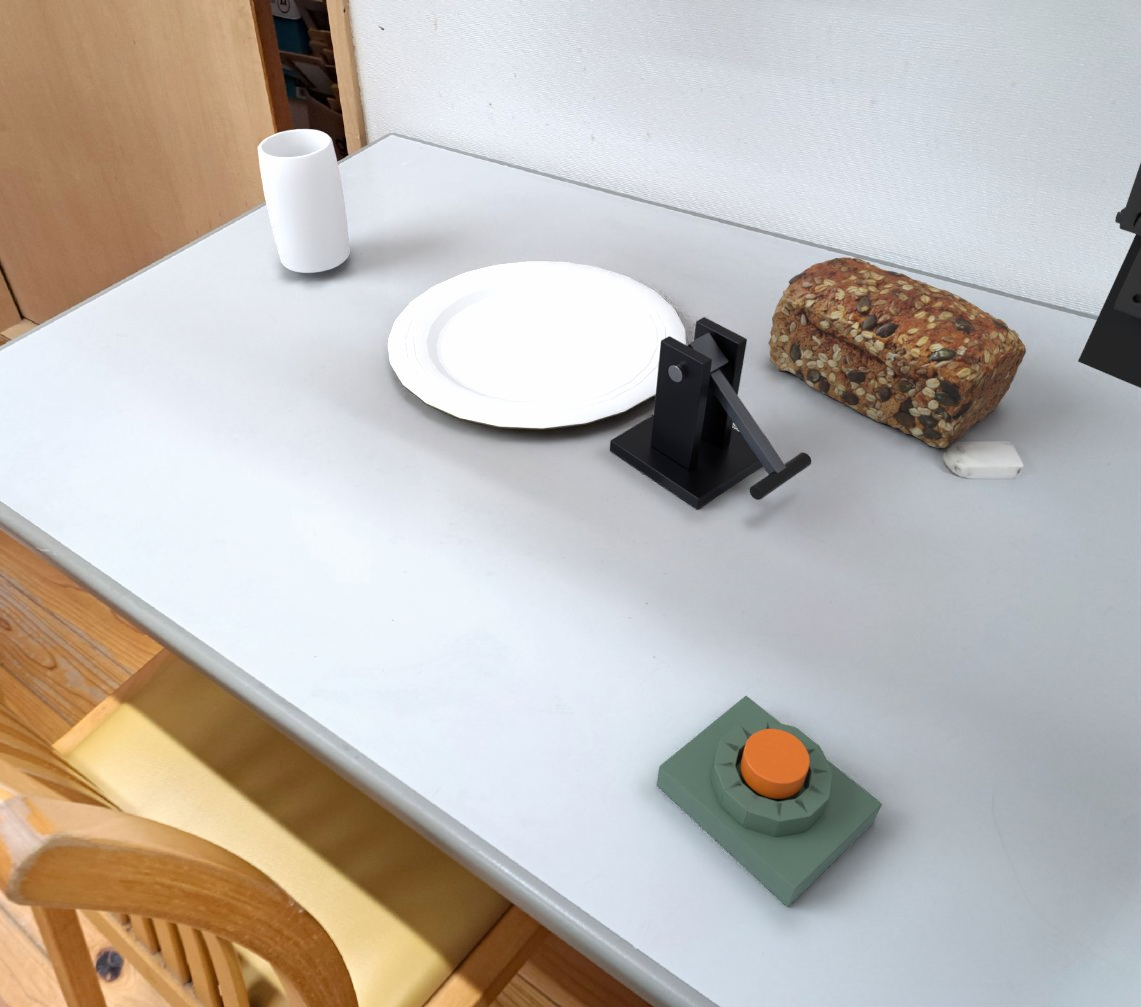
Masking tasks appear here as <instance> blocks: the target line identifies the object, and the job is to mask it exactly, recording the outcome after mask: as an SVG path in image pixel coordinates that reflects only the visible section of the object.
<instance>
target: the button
mask: <svg viewBox="0 0 1141 1007" xmlns="http://www.w3.org/2000/svg"><path fill="white" fill-rule="evenodd" d="M809 765H810V758H809V754H808V752H807V750H806V748H805V746H804V745H803V743H802V742H801V741H800V740H799V739H797V738H796V737H795V736H793V735H792V734H790V733H788V732H785V731H782V730H778V729H764V730H760V731H758V732H756V733H754V734H753V735H752V736H751V737H750V738H749V739H748V740H747V742H746V744H745V748H744V752H743V756H742V760H741V773H742V776H743V778H744V780H745V781H746V783H747V784H748V785H749V786H750V787H751V788H752V789H753V790H754V791H755V792H757V793H758V794H760V795H762V796H765V797H768V798H772V799H784V798H788V797H791V796H793V795H795V794H796V793H797V792H799V790H800V789H801V788H802V786H803V784H804V781H805V778H806V775H807V772H808V769H809Z"/></svg>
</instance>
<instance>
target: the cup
mask: <svg viewBox="0 0 1141 1007" xmlns="http://www.w3.org/2000/svg"><path fill="white" fill-rule="evenodd" d="M257 154H258V155H257V156H258V162H259V171H260V177H261V178H260V179H261V184H262V190H263V195H264V199H265V200H264V201H265V204H266V209H267V214H268V218H269V223H270V226H271V230H272V234H273V238H274V242H275V246H276V249H277V252H278V257H279V259H280V263H281V264H282V266H283V267H284V268H286V269H287V270H289V271H292V272H295V273H303V274H312V273H313V274H314V273H321V272H326V271H329V270H332V269H334V268H336V267H338V266H340V265H342V264H344V262H345V261H346V260H347V259H348V258H349V256H350V254H351V252H350V251H351V250H350V238H349V237H350V236H349V228H348V227H349V226H348V218H347V211H346V202H345V196H344V188H343V183H342V177H341V173H340V168H339V163H338V158H337V155H336V151H335V147H334V142H333V139H332V137H331V136H330V135H329V134H328V133H325V132H324V131H321V130H319V129H311V128H310V129H309V128H296V129H288V130H284V131H279V132H277V133H274V134H271V135H270V136H268V137H266V138H264V139H263V140H262V141H261V142H260V143H259V145H258V146H257Z"/></svg>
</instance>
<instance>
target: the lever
mask: <svg viewBox="0 0 1141 1007" xmlns="http://www.w3.org/2000/svg"><path fill="white" fill-rule="evenodd" d="M686 345H687V346H689V347H690V348H692V349H694V350H696V351H698V352H700V353H701V354H703V355H705V356H707V357H709V358H711V359H712V365H711V372H710V379H709V387H710V389H711V390H712V392H713V393H714V395H715V396H716V398H717V399H718V401H719V402H720V404H721V405H722V407H723V408H724V409H725V411H726V412H727V414H728V415H729V417H730V418H731V420H732V421H733V425H734V426H735V427H736V430H737V431H739V432H740V433H741V435H742V436H743V437H744V439H745V440H746V442H747V443H748V445H749V446H750V448H751V449H752V451H753V452H754V454H755V455H756V457H757V458H758V460H759V461H760V463H761V464H762V465H763V466H762V467H763V468H764V470H765V472H766V473H767V475H766V476H764V477H763V478H761V479H760V480H759V481H757V482H756V483H754V484H752V485H750V487H749V489H748V490H749V494H750V496H751V498H753V499H754V500H757V501H761V500H762V499H764V498H765V497H766V496H768V495H769V494H771V493H772V492H773V491H775V490H776V489H778V488H779V487H781V486H783V485H784V484H785V483H787V482H788V481H789V480H791V479H792V478H794V477H795V476H796V475H798V474H800V473H801V472H803V471H804V470H805V469H807V468H808V467H810V466H811V465H812V457H811V456H810V455H809V454H808V453H807V452H800V453H798V454H797V455H796V456H793V457H792V458H791V459H790V460H788V461H787V462H785V463H784V461H783V460H782V459H781V457H780V456H779V454H778V453H777V451H776V450H775V448H774V447H773V445H772V444H771V442H770V441H769V439H768V438H767V437H766V435H765V433H764V432H763V430H762V429H761V428H760V426H759V424H758V423H757V422H756V420H755V418H754V417H753V416H752V414H751V413H750V411H749V410H748V408H747V407H746V405H745V404H744V402H743V401H742V399H741V398H740V397H739V394H738V395H737V394H736V392H735V391H734V390H733V388H732V387H731V385H730V384H729V382H728V381H727V379H726V378H725V376H724V375H723V373H722V372H721V370H720V368H721V367H723V366H724V365H725V364H727V363H728V360H727V358H726V357H725V355H724V354H723V352H722V351H721V349H720V348H719V346H718V345H717V344H716V342H715V341H714V339H713V338H712V336H711V335H710V333H707V334H705V335H703V336H701V337H699V338H698V339H696V340H694V339H693V340H692V341H691V342H689V343H688V344H686Z"/></svg>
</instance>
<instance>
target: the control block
mask: <svg viewBox="0 0 1141 1007" xmlns="http://www.w3.org/2000/svg"><path fill="white" fill-rule="evenodd" d="M764 729H778V730H782V731H785V732H788V733H790V734H792V735H793V736H795V737H796V738H797V739H799V740H800V741H801V742H802V743H803V745H804V746H805V748H806V750H807V752H808V754H809V758H810V765H809V769H808V772H807V775H806V778H805V781H804V784H803V786H802V788H801V789H800V790H799V792H797V793H796V794H795V795H793V796H791V797H788V798H784V799H772V798H768V797H765V796H762V795H760V794H758V793H757V792H755V791H754V790H753V789H752V788H751V787H750V786H749V785H748V784H747V783H746V781H745V780H744V778H743V776H742V773H741V760H742V756H743V752H744V748H745V744H746V742H747V740H748V739H749V738H750V737H751V736H752V735H753V734H754V733H756V732H758V731H760V730H764ZM656 786H657V787H658V788H659V789H660V790H661V791H662V792H663V793H664V794H665V795H666V796H668V797H669V798H670V799H671V800H672V801H673V802H674V803H675V804H676V805H677V806H678V807H679V808H681V810H682V811H683V812H685V813H686V815H688V816H689V817H690V818H691V819H692V820H693V821H694V822H695V823H697V824H698V825H699V827H701V829H703V830H704V831H705V832H706V833H707V834H708V835H709V836H710V837H711V838H713V839H714V841H715V842H717V843H718V844H719V845H720V846H721V847H722V848H723V849H724V850H725V851H727V853H728V854H730V855H731V856H732V857H733V858H734V859H735V860H736V861H737V862H738V863H740V865H741V866H743V868H745V869H746V871H748V872H749V873H750V874H751V875H752V876H753V877H754V878H755V879H757V880H758V882H760V884H761V885H763V886H764V887H765V888H766V889H767V890H769V891H770V893H771V894H773V895H774V897H776V898H777V899H778V900H779V901H780V902H781V903H782V904H783V905H784V906H786V907H787V908H789V907H790V906H791V905H792V904H793V903H794V902H795V901H796V900H798V898H799V897H800V896H801V895H802V894H804V892H805V891H807V889H808V888H809V887H810V886H812V884H813V883H814V882H815V881H816V880H818V879H819V877H821V875H822V874H823V873H824V872H826V870H827V869H828V868H829V867H830V866H831V865H832V864H834V863H835V862H836V860H838V859H839V858H840V857H841V855H843V854H844V853H845V852H846V851H847V850H848V849H849V848H850V847H851V846H852V845H853V844H854V843H855V842H856V841H857V840H858V839H859V838H860V837H861V836H862V835H863V834H864V833H865V832H866V831H867V830H868V829H869V828H870V827H871V826H872V825H873V824H875V821H876V819H877V816H878V814H879V812H880V810H881V808H882V805H883V803H882V802H881V801H880V800H879V799H877V797H875V796H873V795H872V794H871V793H870V792H869V791H867V790H866V789H864V788H863V787H862V786H861V785H860V784H859V783H857V782H855V780H853V779H852V778H851V777H849V776H848V775H847V774H846V773H845V772H843V771H842V770H841V769H839V767H837V766H836V765H834V764H833V763H832V762H830V761H829V760H828V759H827V757H826V755H825V753H824V751H823V749H822V747H821V746H820V744H818V743H817V742H815V740H813V739H812V738H810V737H809V735H806V734H805V733H804V732H803V731H801V730H800V729H799V728H797V727H795V726H793V725H789V724H785V723H782V722H780V721H779V720H778V719H776V717H774V716H773V715H771V714H770V713H769V712H767V710H766V709H764V708H763V707H762V706H760V705H759V704H758V703H756V702H755V701H754V700H753V699H752V698H750V697H749V696H748V695H745V696H743V697H742V698H741V699H739V700H738V701H737V702H736V703H735V704H734V705H733V706H731V707H730V708H729V709H728V710H726V711H725V712H724V713H722V714H721V715H720V716H718V718H716V719H715V720H714V721H713V722H711V724H709V725H708V726H707V727H706V728H704V729H703V730H702V731H700V732H699V733H698V734H697V735H696V736H694V737H693V738H692V739H691V740H689V741H688V742H687V743H686V744H684V745H683V746H682V747H681V748H680V749H679V750H677V751H676V752H675V753H674V754H672V755H671V756H670V757H668V758H667V759H666V760H665V761H663V763H662V764H660V765H659V767H658V773H657V779H656Z"/></svg>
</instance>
